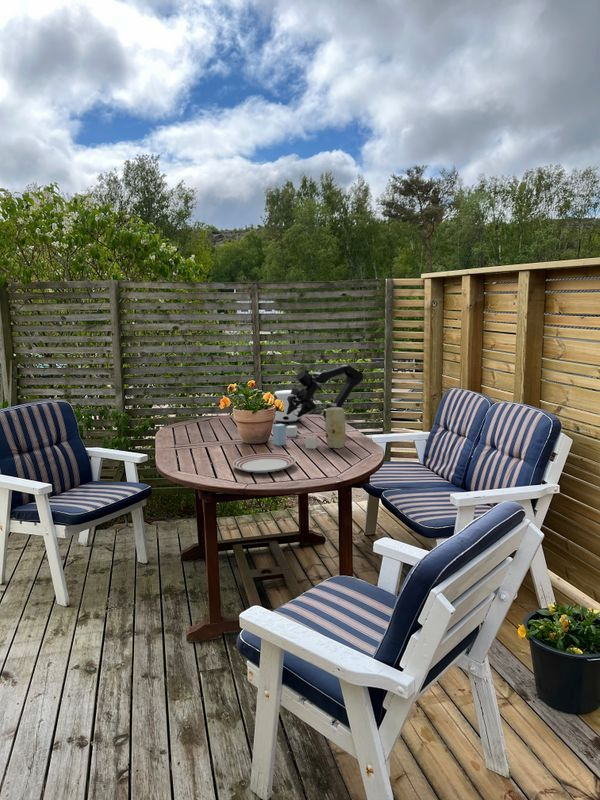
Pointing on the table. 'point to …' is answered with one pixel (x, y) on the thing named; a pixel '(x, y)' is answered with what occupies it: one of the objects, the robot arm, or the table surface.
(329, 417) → the food model
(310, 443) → the cream cube
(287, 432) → the pale grey cube
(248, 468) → the dinner plate
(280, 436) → the dusty blue block
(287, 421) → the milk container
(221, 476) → the table surface
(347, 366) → the robot arm
